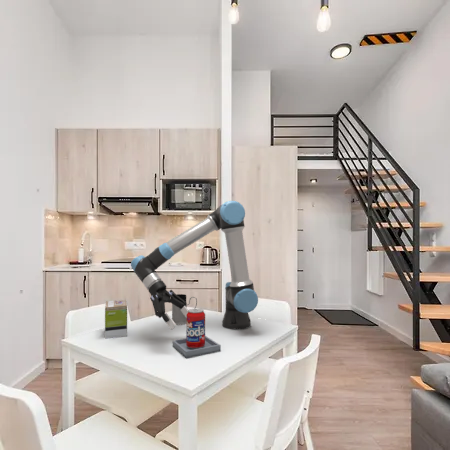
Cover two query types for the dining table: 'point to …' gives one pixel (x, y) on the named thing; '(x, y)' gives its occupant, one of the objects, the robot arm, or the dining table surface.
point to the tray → (188, 352)
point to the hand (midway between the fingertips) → (183, 323)
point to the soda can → (195, 328)
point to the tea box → (115, 319)
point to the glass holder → (180, 312)
